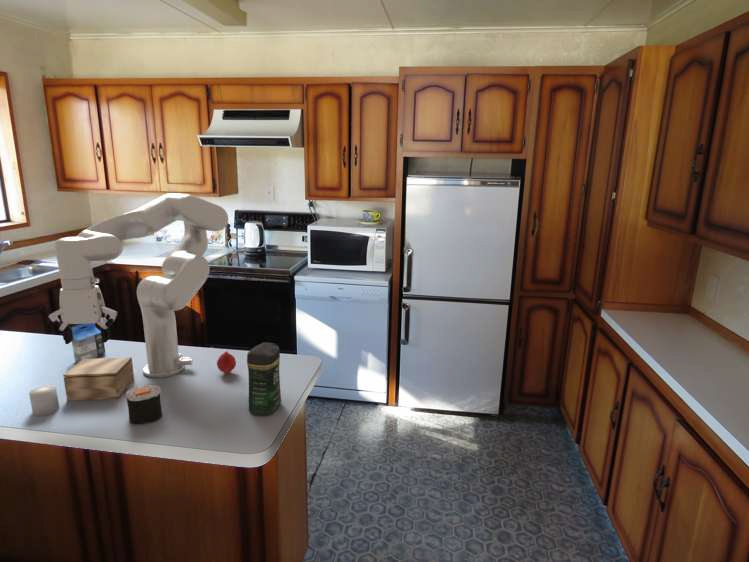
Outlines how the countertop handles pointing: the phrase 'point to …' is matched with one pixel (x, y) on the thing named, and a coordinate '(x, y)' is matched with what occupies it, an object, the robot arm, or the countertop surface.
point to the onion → (226, 362)
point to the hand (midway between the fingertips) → (88, 341)
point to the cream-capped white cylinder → (44, 400)
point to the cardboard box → (99, 385)
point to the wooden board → (98, 367)
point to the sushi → (144, 404)
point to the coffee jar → (264, 378)
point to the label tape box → (87, 342)
